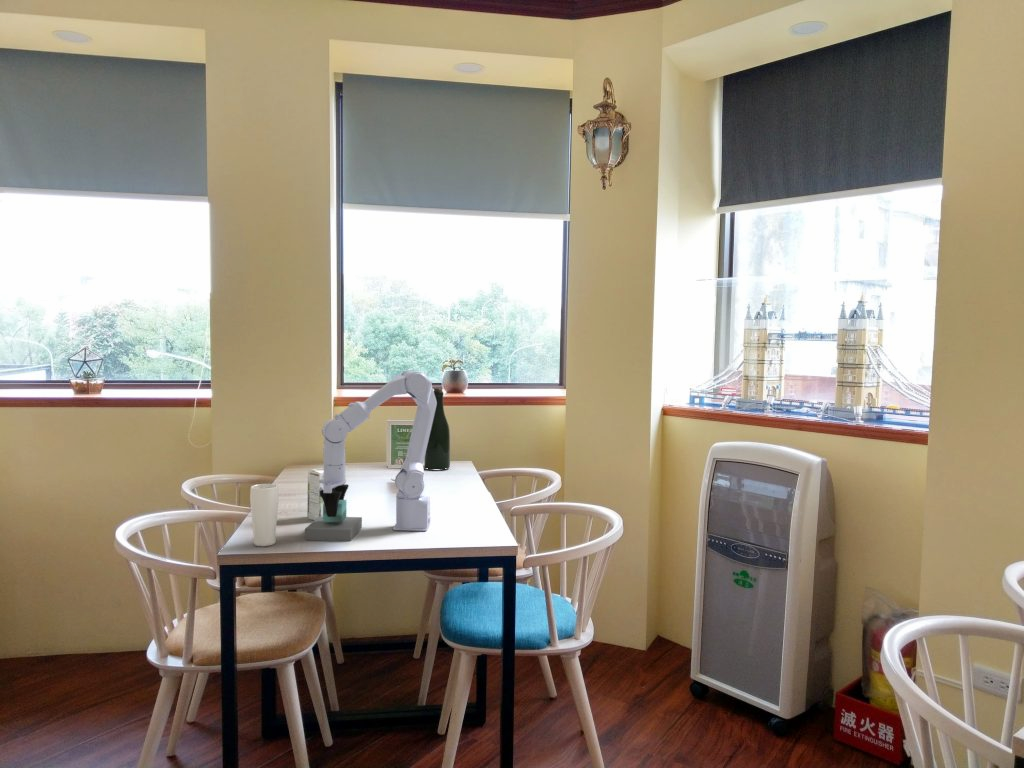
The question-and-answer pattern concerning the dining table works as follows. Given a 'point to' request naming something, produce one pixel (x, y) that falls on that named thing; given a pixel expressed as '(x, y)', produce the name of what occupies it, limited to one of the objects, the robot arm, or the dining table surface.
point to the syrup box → (315, 493)
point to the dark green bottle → (438, 437)
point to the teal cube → (340, 513)
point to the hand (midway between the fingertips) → (334, 514)
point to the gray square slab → (333, 529)
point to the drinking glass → (264, 513)
